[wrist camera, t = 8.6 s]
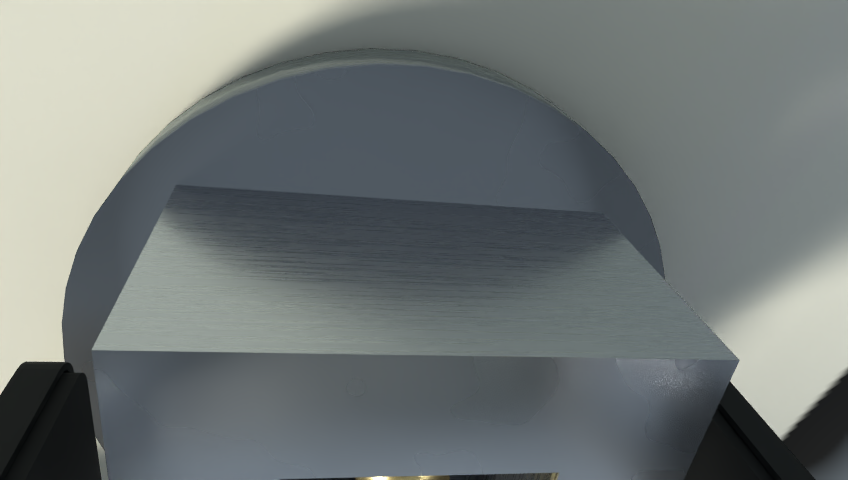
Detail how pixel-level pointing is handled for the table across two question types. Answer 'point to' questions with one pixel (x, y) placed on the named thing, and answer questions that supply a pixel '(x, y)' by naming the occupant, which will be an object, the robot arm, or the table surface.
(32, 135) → the table surface
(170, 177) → the hub
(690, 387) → the square hollow frame
